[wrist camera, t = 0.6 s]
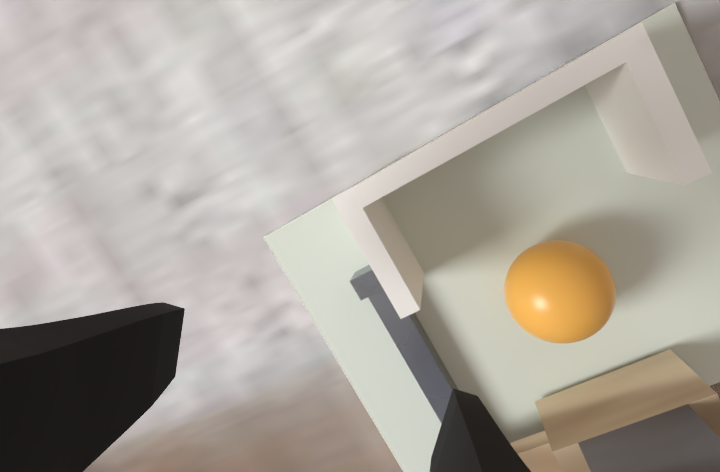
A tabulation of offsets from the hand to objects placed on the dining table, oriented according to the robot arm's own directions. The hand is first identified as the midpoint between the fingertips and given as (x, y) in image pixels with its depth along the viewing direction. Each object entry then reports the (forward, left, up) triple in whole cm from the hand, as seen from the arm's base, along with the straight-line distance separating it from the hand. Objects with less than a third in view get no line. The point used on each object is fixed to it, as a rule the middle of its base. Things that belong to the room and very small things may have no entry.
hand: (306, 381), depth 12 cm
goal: (+2, -7, -10) cm, 12 cm away
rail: (-6, 0, -10) cm, 12 cm away
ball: (-4, -7, -8) cm, 11 cm away
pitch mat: (-4, -6, -10) cm, 12 cm away
